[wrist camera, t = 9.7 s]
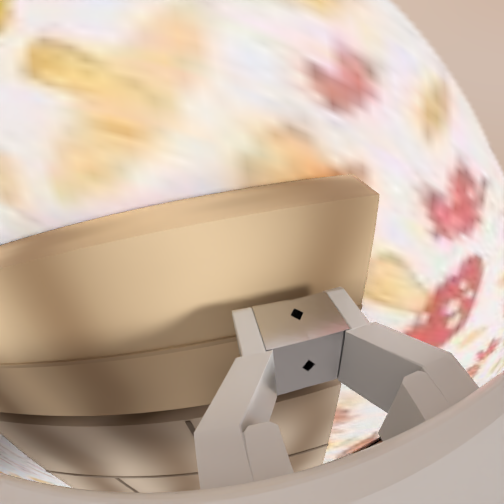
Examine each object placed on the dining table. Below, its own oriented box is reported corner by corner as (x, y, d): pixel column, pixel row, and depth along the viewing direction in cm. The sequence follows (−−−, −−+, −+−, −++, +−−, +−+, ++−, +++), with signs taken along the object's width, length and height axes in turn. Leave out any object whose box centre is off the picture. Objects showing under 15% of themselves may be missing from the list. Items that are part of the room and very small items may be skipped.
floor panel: (93, 486, 18) (92, 500, 17) (-9, 400, 11) (-16, 419, 10) (313, 460, 20) (319, 475, 19) (329, 361, 14) (341, 384, 12)
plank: (-14, 393, 11) (-20, 415, 10) (-101, 282, 6) (-115, 304, 5) (330, 352, 13) (342, 379, 12) (352, 173, 8) (381, 195, 7)
